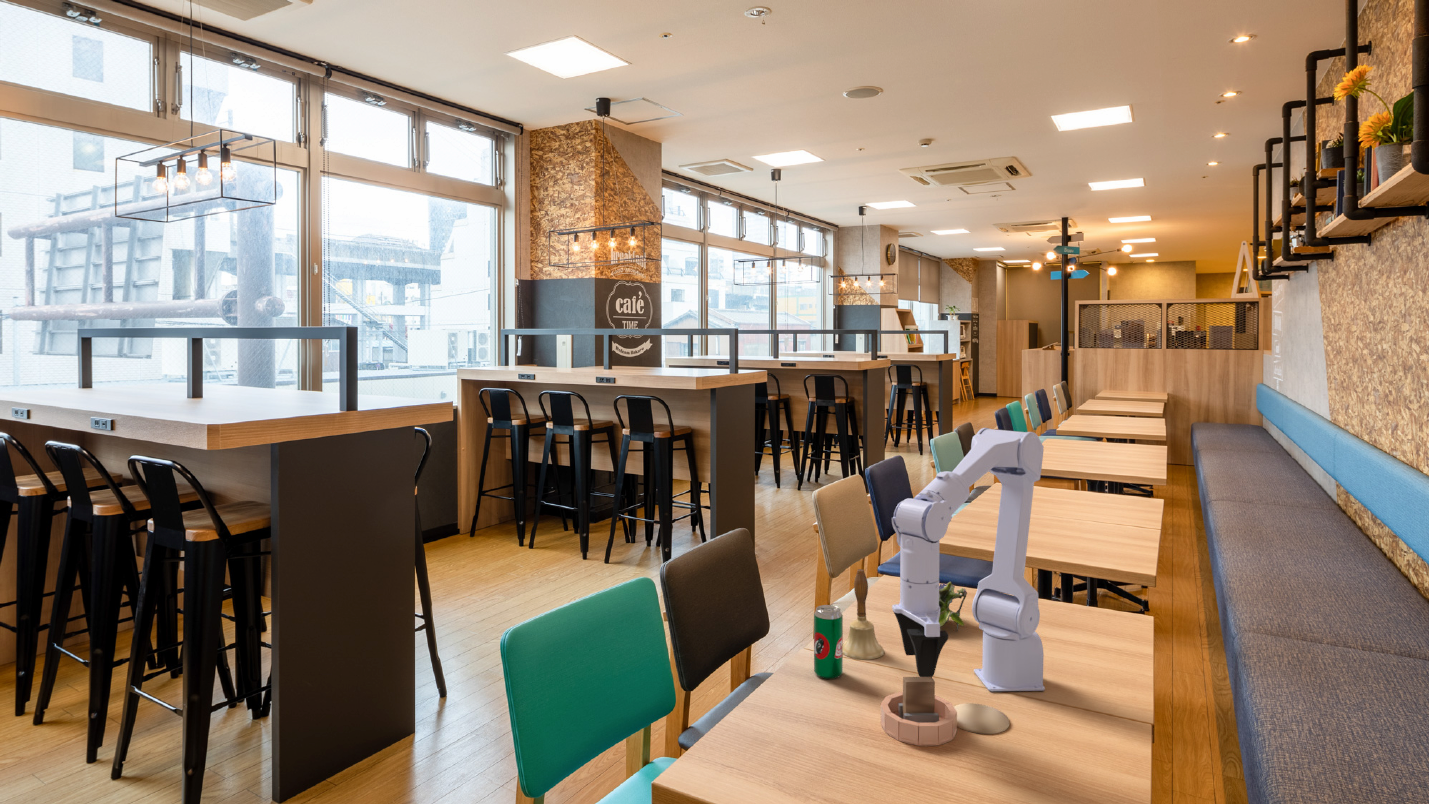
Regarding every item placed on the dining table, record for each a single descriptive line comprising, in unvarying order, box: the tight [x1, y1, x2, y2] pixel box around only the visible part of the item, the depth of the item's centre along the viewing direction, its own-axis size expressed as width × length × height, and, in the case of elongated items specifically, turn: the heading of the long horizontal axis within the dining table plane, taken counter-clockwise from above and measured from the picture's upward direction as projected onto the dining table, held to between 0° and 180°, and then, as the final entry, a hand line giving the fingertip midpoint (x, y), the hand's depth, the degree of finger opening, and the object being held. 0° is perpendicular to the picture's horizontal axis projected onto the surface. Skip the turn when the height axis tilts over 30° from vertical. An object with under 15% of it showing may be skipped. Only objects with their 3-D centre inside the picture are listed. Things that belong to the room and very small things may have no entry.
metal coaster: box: [953, 702, 1010, 735], centre depth 120 cm, size 9×9×1 cm
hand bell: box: [843, 568, 885, 661], centre depth 146 cm, size 8×8×16 cm
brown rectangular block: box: [902, 676, 936, 718], centre depth 118 cm, size 4×2×7 cm, turn 90°
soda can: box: [813, 604, 844, 680], centre depth 136 cm, size 5×5×12 cm
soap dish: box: [880, 691, 958, 747], centre depth 118 cm, size 11×11×3 cm
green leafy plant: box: [939, 581, 968, 632], centre depth 158 cm, size 11×11×12 cm
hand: (918, 664), depth 117 cm, fingers open, 7 cm apart
